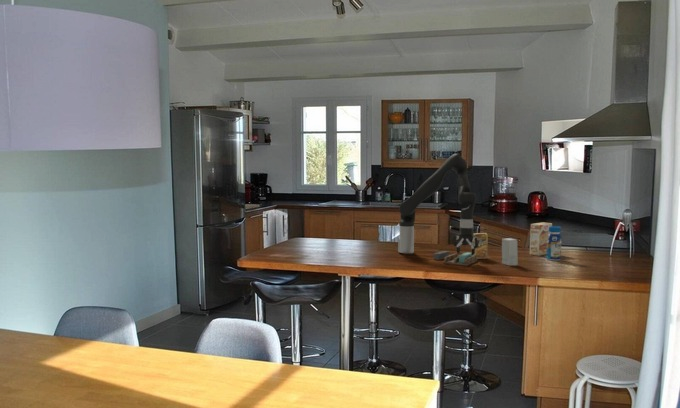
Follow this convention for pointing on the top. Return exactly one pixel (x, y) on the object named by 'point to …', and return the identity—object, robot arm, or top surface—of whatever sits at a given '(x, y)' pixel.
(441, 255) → the charcoal stick
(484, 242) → the candy box
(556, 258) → the beverage bottle
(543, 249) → the coffeecake box
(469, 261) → the comb rack
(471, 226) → the robot arm
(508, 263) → the skincare box
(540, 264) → the top surface
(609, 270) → the top surface
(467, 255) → the teal stick
